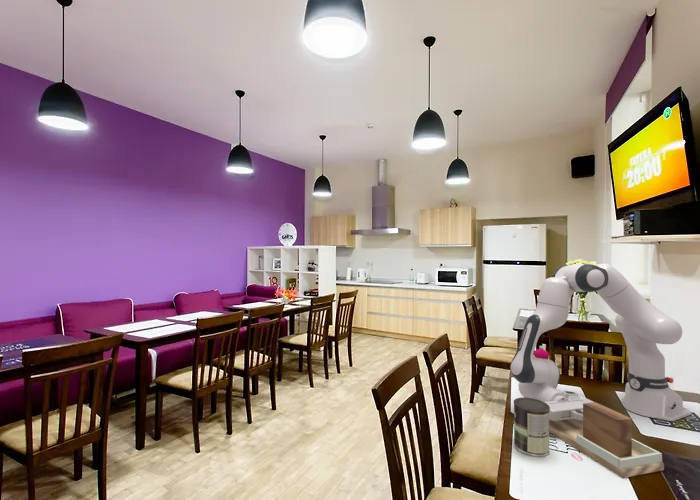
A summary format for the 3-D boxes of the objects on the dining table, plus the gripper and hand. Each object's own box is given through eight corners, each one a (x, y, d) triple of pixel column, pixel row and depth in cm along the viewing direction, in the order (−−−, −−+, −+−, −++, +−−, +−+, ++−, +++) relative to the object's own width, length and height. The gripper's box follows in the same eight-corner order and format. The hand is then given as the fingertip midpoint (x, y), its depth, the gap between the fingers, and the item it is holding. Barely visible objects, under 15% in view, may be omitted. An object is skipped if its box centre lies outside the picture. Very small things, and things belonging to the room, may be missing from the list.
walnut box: (595, 435, 119) (595, 402, 119) (631, 455, 107) (631, 418, 107) (583, 437, 117) (583, 403, 117) (618, 457, 106) (618, 420, 106)
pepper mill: (553, 393, 159) (552, 348, 159) (535, 392, 160) (535, 347, 160) (547, 387, 166) (547, 344, 166) (530, 386, 167) (530, 343, 167)
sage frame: (614, 436, 118) (614, 429, 118) (662, 462, 104) (662, 453, 104) (576, 442, 114) (576, 434, 114) (621, 469, 100) (621, 460, 100)
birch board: (577, 423, 131) (577, 417, 131) (664, 470, 103) (663, 463, 103) (542, 428, 128) (542, 422, 128) (622, 477, 99) (622, 470, 99)
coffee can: (509, 449, 114) (509, 404, 114) (518, 436, 122) (518, 394, 122) (546, 461, 107) (546, 414, 107) (552, 446, 115) (552, 402, 115)
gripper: (531, 396, 129) (563, 413, 116) (578, 391, 134) (613, 406, 120) (531, 414, 129) (563, 433, 116) (578, 408, 134) (613, 425, 120)
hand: (589, 419), depth 118 cm, fingers closed, pressing on walnut box
